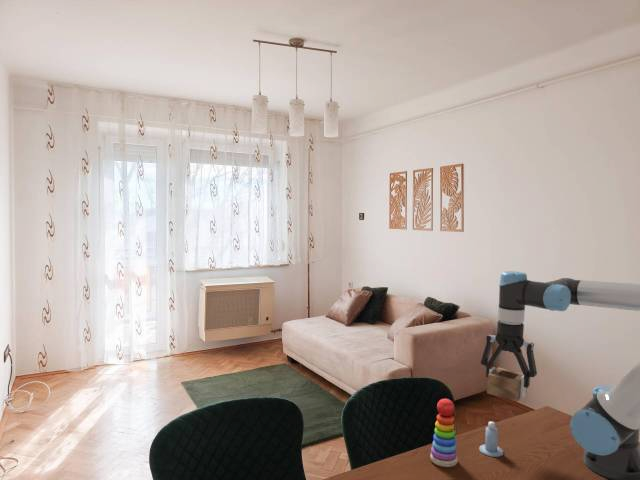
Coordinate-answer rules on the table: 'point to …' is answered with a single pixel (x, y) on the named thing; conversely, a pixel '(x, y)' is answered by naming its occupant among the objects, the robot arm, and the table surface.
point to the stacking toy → (444, 436)
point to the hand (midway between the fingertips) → (506, 392)
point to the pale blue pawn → (491, 442)
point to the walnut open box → (505, 384)
